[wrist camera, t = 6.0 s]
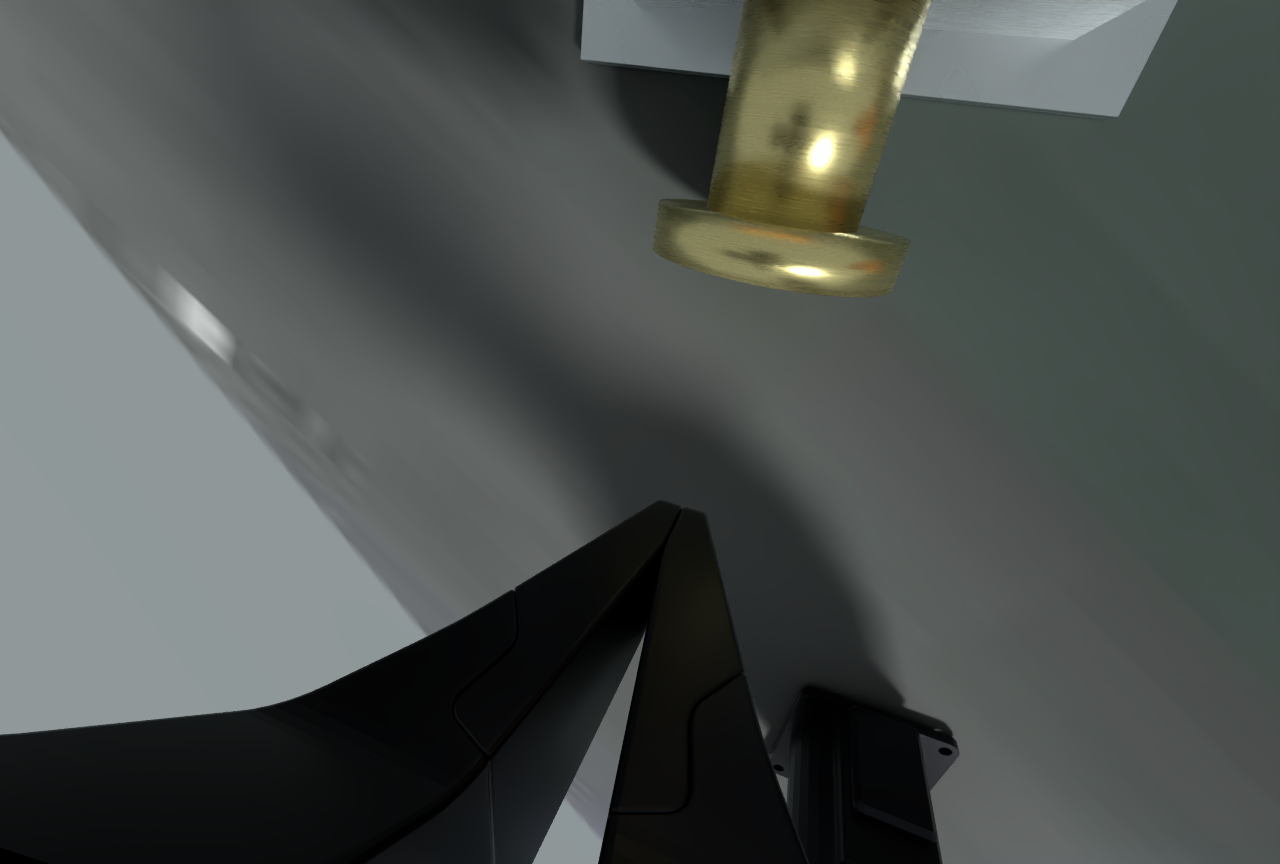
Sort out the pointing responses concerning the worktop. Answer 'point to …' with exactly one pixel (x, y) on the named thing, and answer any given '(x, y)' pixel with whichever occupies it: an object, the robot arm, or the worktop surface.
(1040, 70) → the hitch block
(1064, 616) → the worktop surface
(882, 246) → the pin
